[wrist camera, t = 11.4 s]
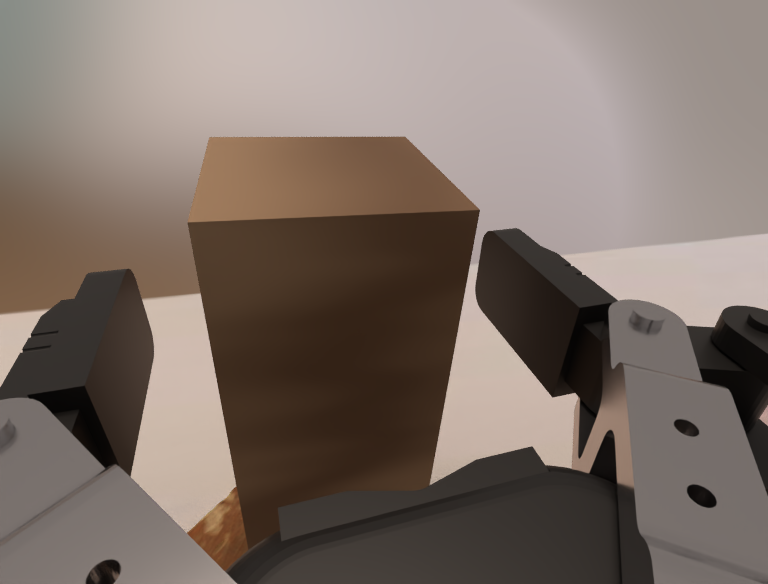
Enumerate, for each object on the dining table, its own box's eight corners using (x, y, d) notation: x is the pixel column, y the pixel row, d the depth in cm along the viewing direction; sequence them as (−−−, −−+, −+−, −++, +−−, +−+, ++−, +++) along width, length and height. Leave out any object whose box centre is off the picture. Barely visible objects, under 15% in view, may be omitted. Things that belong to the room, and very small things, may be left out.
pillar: (264, 636, 12) (187, 222, 6) (261, 500, 16) (209, 137, 9) (408, 601, 13) (479, 209, 7) (376, 480, 16) (405, 136, 10)
